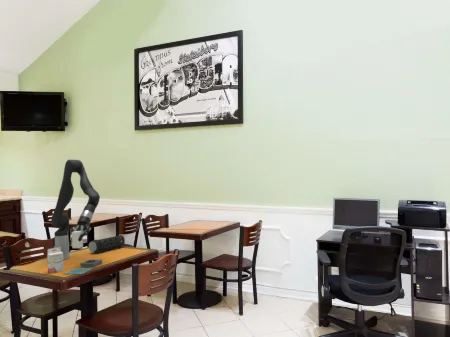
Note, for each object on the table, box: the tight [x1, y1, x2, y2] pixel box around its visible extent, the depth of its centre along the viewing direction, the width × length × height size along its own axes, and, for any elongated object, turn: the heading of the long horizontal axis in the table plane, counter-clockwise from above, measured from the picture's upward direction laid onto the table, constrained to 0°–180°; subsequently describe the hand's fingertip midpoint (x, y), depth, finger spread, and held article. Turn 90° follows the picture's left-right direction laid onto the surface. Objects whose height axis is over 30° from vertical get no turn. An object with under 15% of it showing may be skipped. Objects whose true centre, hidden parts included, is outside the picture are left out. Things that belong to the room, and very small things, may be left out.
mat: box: [63, 267, 93, 275], centre depth 232 cm, size 12×12×1 cm
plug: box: [71, 231, 84, 249], centre depth 232 cm, size 4×4×10 cm
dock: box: [79, 259, 103, 268], centre depth 247 cm, size 10×10×2 cm
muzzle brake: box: [88, 234, 126, 254], centre depth 292 cm, size 10×28×10 cm, turn 144°
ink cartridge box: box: [46, 247, 65, 274], centre depth 235 cm, size 9×5×15 cm, turn 129°
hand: (75, 240), depth 230 cm, fingers closed on plug, 4 cm apart
